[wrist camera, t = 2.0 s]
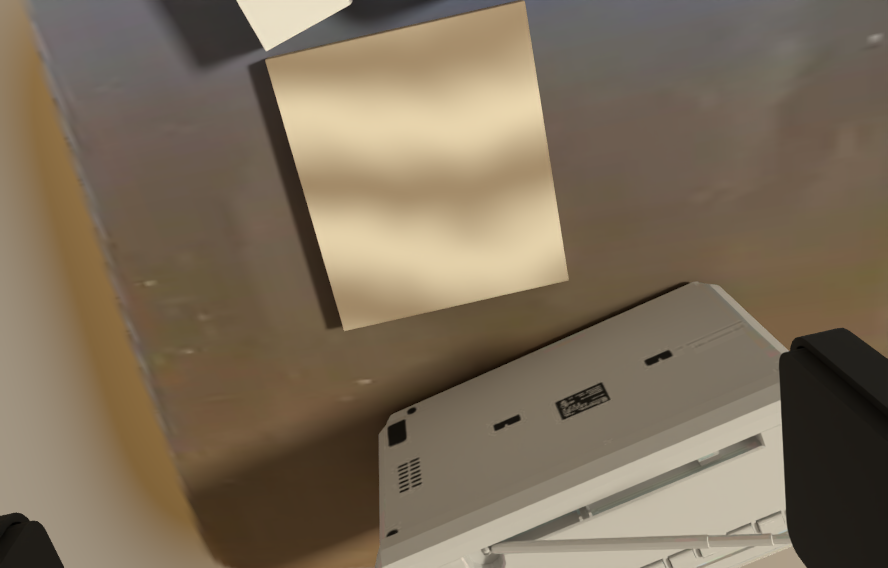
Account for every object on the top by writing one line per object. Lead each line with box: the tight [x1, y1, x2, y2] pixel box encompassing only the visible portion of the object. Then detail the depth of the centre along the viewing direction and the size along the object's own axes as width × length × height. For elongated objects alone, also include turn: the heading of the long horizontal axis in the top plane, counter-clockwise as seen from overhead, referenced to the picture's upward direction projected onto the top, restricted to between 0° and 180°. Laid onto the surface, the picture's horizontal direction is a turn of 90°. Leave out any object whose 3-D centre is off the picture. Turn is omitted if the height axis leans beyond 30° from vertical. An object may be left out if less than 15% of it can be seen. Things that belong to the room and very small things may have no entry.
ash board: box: [265, 0, 569, 331], centre depth 38 cm, size 14×12×1 cm
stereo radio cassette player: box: [375, 282, 793, 568], centre depth 35 cm, size 21×8×20 cm, turn 114°
